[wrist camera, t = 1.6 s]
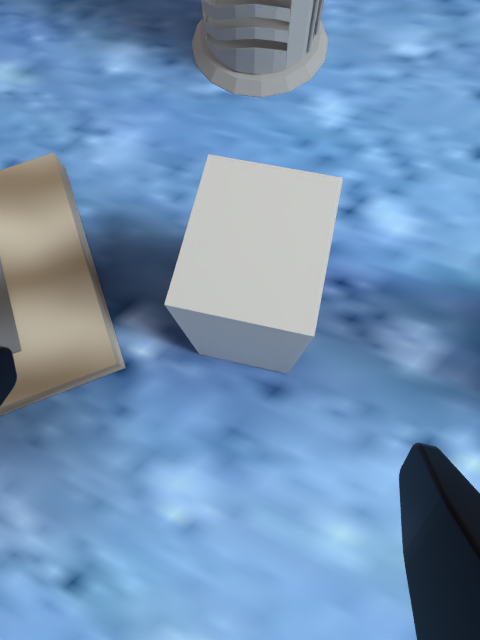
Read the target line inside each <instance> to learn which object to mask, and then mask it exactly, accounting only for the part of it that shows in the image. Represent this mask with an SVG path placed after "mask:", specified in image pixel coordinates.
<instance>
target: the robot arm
mask: <svg viewBox="0 0 480 640" xmlns="http://www.w3.org/2000/svg"><path fill="white" fill-rule="evenodd" d="M16 381H17V372H16V367H15V362H14V357H13V353H12V351H11V350H10V349H9V348H8V347H4V346H0V407H1V405H2V404H3V402H4V401H5V399H6V398H7V396H8V395H9V394H10V392H11V391H12V389H13V388H14V386H15V384H16ZM399 488H400V507H401V525H402V543H403V554H404V562H405V569H406V575H407V581H408V587H409V593H410V599H411V605H412V611H413V617H414V624H415V630H416V636H417V640H480V493H479V492H478V491H477V490H476V489H475V488H474V487H473V486H472V485H471V483H470V482H469V481H468V480H467V479H466V478H465V477H464V476H463V475H462V474H461V472H460V471H459V470H458V469H457V468H456V467H455V466H454V465H453V464H452V463H451V462H450V460H449V459H448V458H447V457H446V456H445V455H444V454H443V453H442V452H441V451H440V450H439V449H438V448H437V447H435V446H431V445H427V444H423V443H415V444H414V445H413V446H412V448H411V450H410V452H409V454H408V456H407V457H406V459H405V461H404V463H403V465H402V467H401V469H400V474H399Z"/></svg>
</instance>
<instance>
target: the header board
mask: <svg viewBox="0 0 480 640" xmlns="http://www.w3.org/2000/svg"><path fill="white" fill-rule="evenodd" d="M0 346H4V347H8V348H9V349H10V350H11V351H12V353H13V357H14V362H15V367H16V372H17V381H16V384H15V386H14V388H13V389H12V391H11V392H10V394H9V395H8V396H7V398H6V399H5V401H4V402H3V404H2V405H1V407H0V416H1V415H4V414H6V413H9V412H12V411H14V410H17V409H19V408H22V407H25V406H27V405H30V404H33V403H35V402H38V401H40V400H43V399H46V398H48V397H51V396H54V395H56V394H59V393H62V392H64V391H67V390H69V389H72V388H75V387H77V386H80V385H83V384H85V383H88V382H90V381H93V380H96V379H98V378H101V377H104V376H106V375H109V374H111V373H114V372H117V371H119V370H122V369H125V368H126V367H125V364H124V361H123V357H122V354H121V351H120V347H119V344H118V341H117V338H116V334H115V331H114V328H113V324H112V321H111V318H110V314H109V311H108V308H107V305H106V301H105V298H104V295H103V291H102V288H101V285H100V282H99V278H98V275H97V272H96V268H95V265H94V262H93V259H92V255H91V252H90V249H89V245H88V242H87V239H86V236H85V232H84V229H83V226H82V222H81V219H80V216H79V212H78V209H77V206H76V203H75V199H74V196H73V193H72V189H71V186H70V183H69V180H68V176H67V173H66V170H65V168H64V166H63V165H62V164H61V162H60V161H59V159H58V158H57V157H56V155H55V154H54V153H51V154H48V155H45V156H42V157H39V158H36V159H33V160H30V161H27V162H24V163H21V164H18V165H15V166H12V167H9V168H6V169H3V170H0Z"/></svg>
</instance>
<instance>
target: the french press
mask: <svg viewBox="0 0 480 640" xmlns="http://www.w3.org/2000/svg"><path fill="white" fill-rule="evenodd" d="M323 4H324V0H201V5H202V14H203V19H202V20H201V21H200V22H199V23H198V24H197V26H196V30H195V34H194V37H193V41H192V44H191V45H192V50H193V54H194V58H195V63H196V65H197V67H198V68H199V69H200V70H201V71H202V72H203V74H204V75H205V76H206V77H207V78H208V79H209V81H210V82H211V83H213V84H215V85H217V86H219V87H221V88H223V89H225V90H227V91H229V92H231V93H233V94H239V95H247V96H255V97H266V96H271V95H276V94H281V93H286V92H290V91H292V90H293V89H295V88H297V87H298V86H300V85H302V84H303V83H305V82H307V81H309V80H310V79H312V77H313V76H314V75H315V73H316V72H317V71H318V69H319V68H320V67H321V65H322V64H323V63H324V61H325V58H326V52H327V45H328V37H327V35H326V32H325V29H324V26H323V24H322V21H321V15H322V9H323Z"/></svg>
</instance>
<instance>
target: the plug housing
mask: <svg viewBox="0 0 480 640" xmlns="http://www.w3.org/2000/svg"><path fill="white" fill-rule="evenodd" d="M342 180H343V178H341V177H335V176H329V175H324V174H318V173H312V172H306V171H301V170H295V169H289V168H284V167H278V166H272V165H267V164H261V163H255V162H250V161H244V160H238V159H233V158H227V157H221V156H216V155H210V154H208V158H207V161H206V165H205V168H204V171H203V175H202V178H201V182H200V185H199V188H198V192H197V195H196V199H195V202H194V205H193V209H192V212H191V215H190V219H189V222H188V226H187V229H186V232H185V236H184V239H183V243H182V246H181V249H180V253H179V256H178V260H177V263H176V266H175V270H174V273H173V277H172V280H171V283H170V287H169V290H168V294H167V297H166V300H165V304H164V305H165V306H166V308H167V309H168V311H169V312H170V313H171V315H172V316H173V318H174V319H175V321H176V322H177V323H178V325H179V326H180V328H181V329H182V330H183V332H184V333H185V335H186V336H187V337H188V339H189V340H190V342H191V343H192V345H193V346H194V347H195V349H196V350H197V352H198V353H199V354H200V355H205V356H209V357H214V358H218V359H223V360H227V361H232V362H236V363H241V364H245V365H250V366H254V367H258V368H263V369H267V370H272V371H276V372H281V373H285V374H288V373H289V371H290V370H291V369H292V367H293V366H294V364H295V363H296V362H297V360H298V359H299V357H300V356H301V355H302V353H303V352H304V350H305V349H306V347H307V346H308V345H309V343H310V342H311V340H312V339H313V338H314V335H315V330H316V324H317V319H318V313H319V308H320V302H321V296H322V291H323V285H324V280H325V274H326V269H327V263H328V258H329V252H330V247H331V241H332V236H333V230H334V225H335V219H336V214H337V208H338V202H339V197H340V191H341V186H342Z"/></svg>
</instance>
